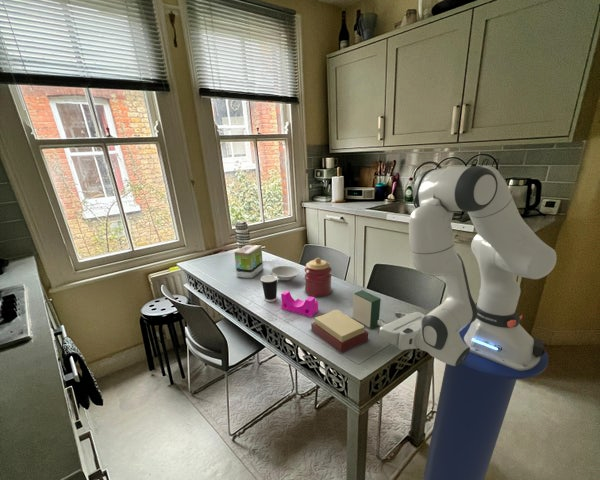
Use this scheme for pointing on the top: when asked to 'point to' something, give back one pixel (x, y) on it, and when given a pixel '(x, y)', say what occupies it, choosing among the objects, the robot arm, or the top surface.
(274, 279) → the dixie cup
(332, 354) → the top surface
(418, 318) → the robot arm
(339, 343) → the book stack
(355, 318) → the book
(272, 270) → the dish
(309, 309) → the toy block
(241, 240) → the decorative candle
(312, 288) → the kitchen canister
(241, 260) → the tea box
